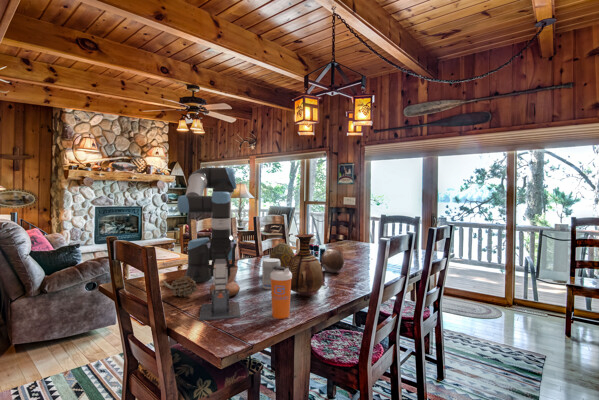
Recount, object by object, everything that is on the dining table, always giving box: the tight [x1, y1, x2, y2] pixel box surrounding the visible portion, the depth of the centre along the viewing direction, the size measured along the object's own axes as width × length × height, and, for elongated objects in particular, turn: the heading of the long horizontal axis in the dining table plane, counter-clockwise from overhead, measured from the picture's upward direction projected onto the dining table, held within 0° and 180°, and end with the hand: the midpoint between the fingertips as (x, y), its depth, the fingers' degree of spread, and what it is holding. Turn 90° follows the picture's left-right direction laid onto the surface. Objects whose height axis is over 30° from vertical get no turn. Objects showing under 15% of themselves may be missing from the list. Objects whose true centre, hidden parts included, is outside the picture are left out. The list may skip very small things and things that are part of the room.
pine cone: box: [162, 276, 198, 298], centre depth 159 cm, size 22×10×10 cm, turn 67°
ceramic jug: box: [208, 264, 241, 298], centre depth 161 cm, size 18×14×14 cm
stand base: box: [198, 289, 242, 321], centre depth 138 cm, size 16×16×9 cm
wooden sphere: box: [320, 248, 345, 274], centre depth 208 cm, size 15×15×15 cm
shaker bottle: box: [270, 266, 292, 320], centre depth 134 cm, size 9×9×20 cm
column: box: [214, 259, 227, 294], centre depth 138 cm, size 5×5×20 cm
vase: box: [288, 233, 324, 297], centre depth 160 cm, size 21×18×30 cm
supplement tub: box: [261, 258, 280, 291], centre depth 174 cm, size 10×10×15 cm
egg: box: [268, 242, 296, 267], centre depth 199 cm, size 16×16×20 cm
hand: (220, 283), depth 138 cm, fingers closed on column, 4 cm apart
